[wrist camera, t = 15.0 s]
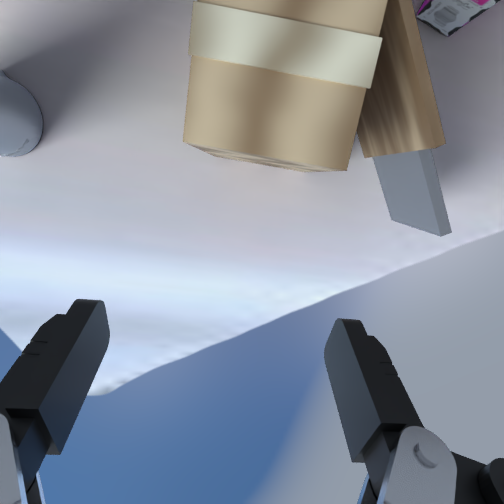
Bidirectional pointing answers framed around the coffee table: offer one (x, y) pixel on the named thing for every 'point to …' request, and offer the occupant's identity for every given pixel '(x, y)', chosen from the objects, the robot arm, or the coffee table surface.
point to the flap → (404, 124)
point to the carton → (281, 79)
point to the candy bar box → (451, 13)
